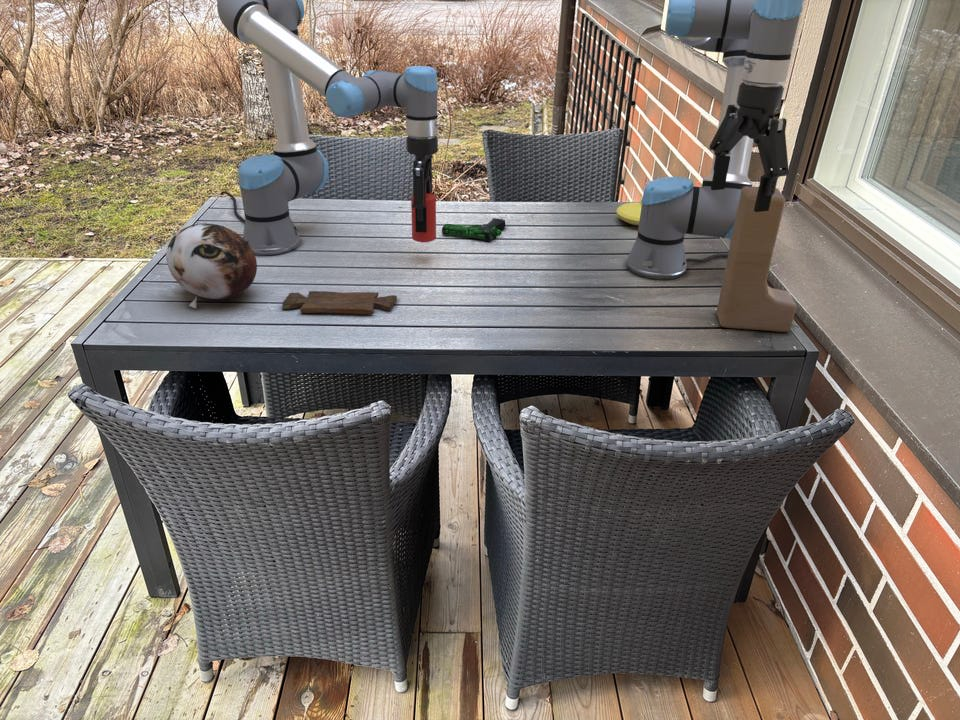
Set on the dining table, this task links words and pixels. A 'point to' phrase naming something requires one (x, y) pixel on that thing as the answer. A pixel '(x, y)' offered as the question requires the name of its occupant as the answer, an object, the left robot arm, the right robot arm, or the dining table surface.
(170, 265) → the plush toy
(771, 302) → the decorative block
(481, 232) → the handgun
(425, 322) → the dining table surface
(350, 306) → the dark wooden board
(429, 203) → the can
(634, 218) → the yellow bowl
